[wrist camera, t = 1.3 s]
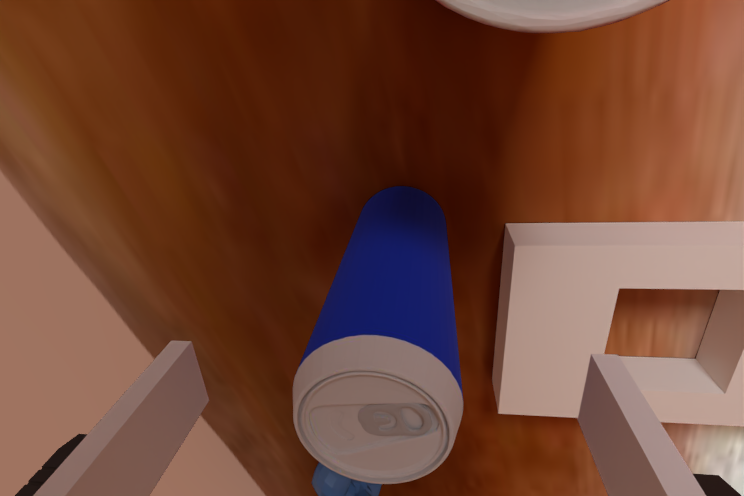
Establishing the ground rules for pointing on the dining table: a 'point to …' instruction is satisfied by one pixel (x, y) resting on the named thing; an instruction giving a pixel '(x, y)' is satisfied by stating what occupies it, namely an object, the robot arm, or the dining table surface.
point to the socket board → (595, 311)
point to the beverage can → (385, 349)
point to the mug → (549, 13)
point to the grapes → (340, 484)
